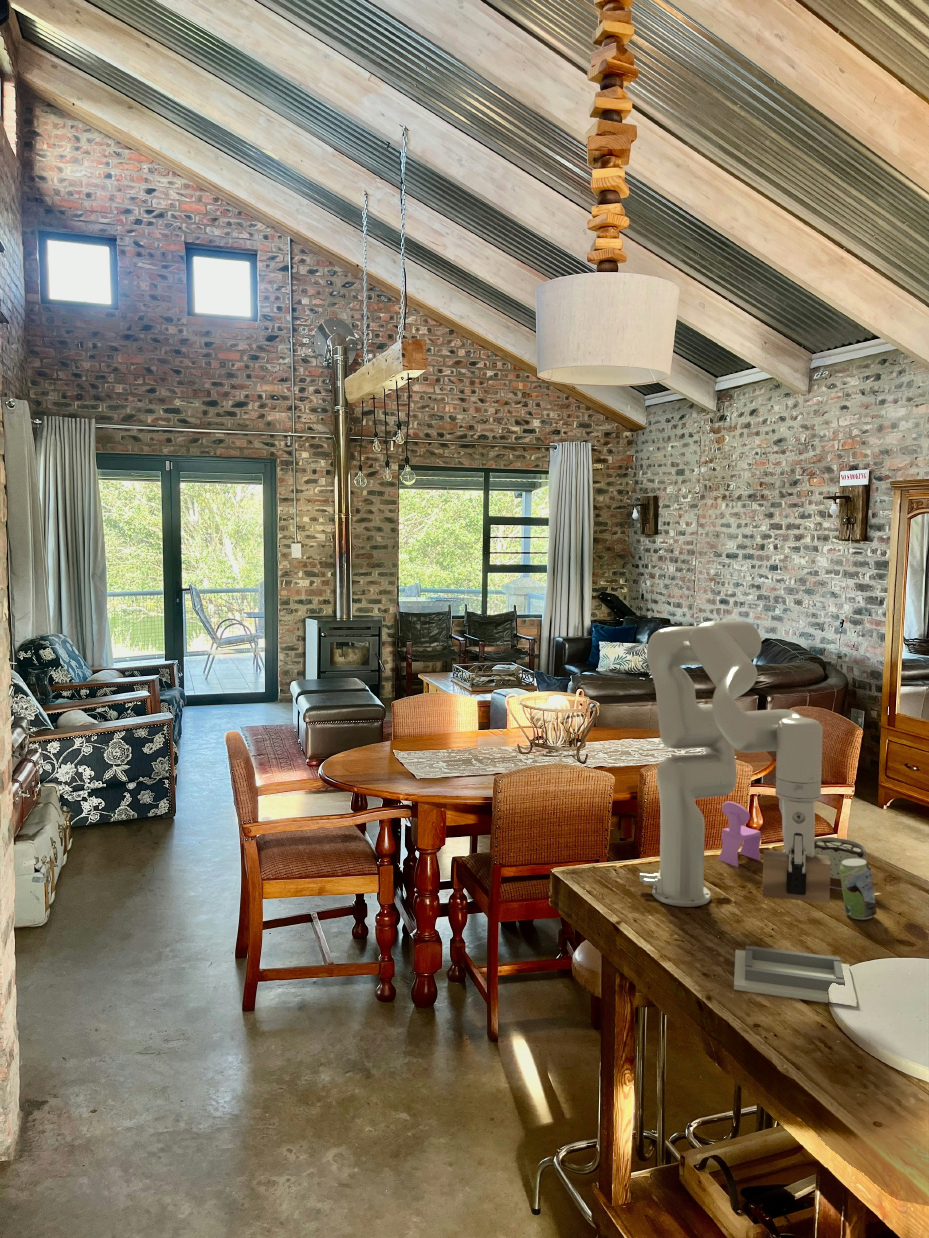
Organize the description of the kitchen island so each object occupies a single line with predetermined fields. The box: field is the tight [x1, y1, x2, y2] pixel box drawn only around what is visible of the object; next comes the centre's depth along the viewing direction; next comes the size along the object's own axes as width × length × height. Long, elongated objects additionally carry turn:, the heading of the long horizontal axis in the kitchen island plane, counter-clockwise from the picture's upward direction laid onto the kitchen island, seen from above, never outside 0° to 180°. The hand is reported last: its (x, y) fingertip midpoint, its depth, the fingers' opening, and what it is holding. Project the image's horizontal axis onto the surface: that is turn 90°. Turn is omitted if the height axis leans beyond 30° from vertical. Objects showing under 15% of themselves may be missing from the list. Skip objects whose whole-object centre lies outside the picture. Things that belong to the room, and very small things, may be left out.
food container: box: [814, 837, 868, 890], centre depth 206 cm, size 12×6×10 cm, turn 58°
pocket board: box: [733, 945, 851, 1004], centre depth 162 cm, size 20×14×3 cm
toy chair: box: [717, 801, 762, 868], centre depth 222 cm, size 8×9×15 cm
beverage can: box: [840, 858, 878, 920], centre depth 189 cm, size 6×7×12 cm
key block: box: [762, 849, 831, 904], centre depth 160 cm, size 4×11×7 cm, turn 72°
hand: (795, 887), depth 161 cm, fingers closed on key block, 4 cm apart
